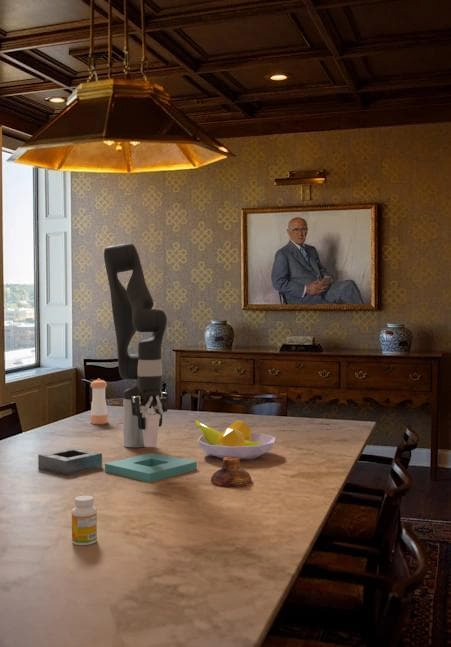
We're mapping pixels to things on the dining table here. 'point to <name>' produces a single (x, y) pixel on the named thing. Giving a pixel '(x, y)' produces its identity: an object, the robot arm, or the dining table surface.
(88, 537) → the supplement bottle
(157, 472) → the low socket
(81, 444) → the dining table surface
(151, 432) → the smoothie
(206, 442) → the fruit bowl
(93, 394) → the pepper shaker
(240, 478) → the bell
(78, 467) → the tall socket
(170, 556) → the dining table surface
